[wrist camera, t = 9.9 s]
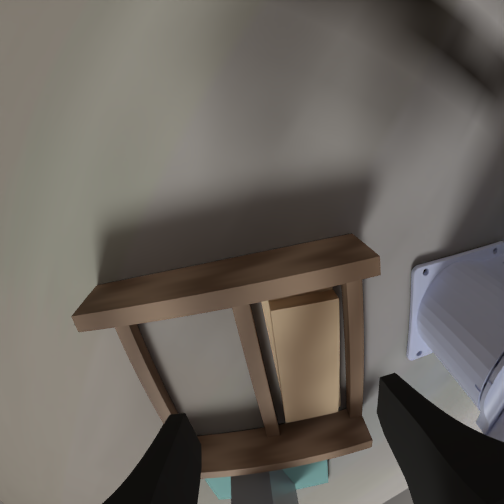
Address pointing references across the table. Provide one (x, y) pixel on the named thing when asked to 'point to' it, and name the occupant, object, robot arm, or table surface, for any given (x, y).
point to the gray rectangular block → (263, 488)
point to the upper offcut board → (307, 353)
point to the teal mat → (298, 475)
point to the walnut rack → (249, 343)
